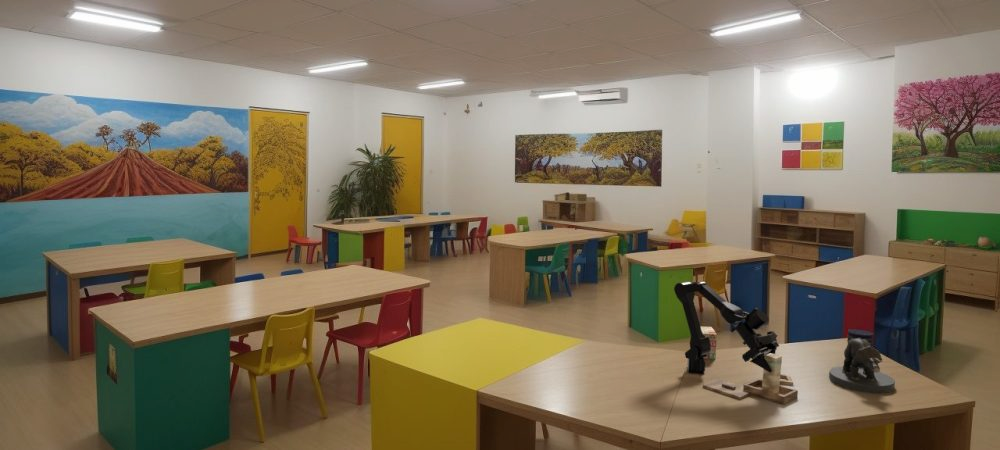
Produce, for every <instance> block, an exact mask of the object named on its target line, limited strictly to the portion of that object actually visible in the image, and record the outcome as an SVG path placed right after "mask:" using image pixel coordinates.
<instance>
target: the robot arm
mask: <svg viewBox="0 0 1000 450" xmlns="http://www.w3.org/2000/svg"><path fill="white" fill-rule="evenodd" d="M673 291H674V293H675V297H676V299H677V300H678V301H679V302H680V303H681V304H682V308H683V312H684V315H685V319H686V323H687V327H688V329H689V334H690V340H689V349H688V350H687V351H685V353H684V357H685V358H686V359H687V367H686V368H687V372H688V373H689V374H701V375H704V374H705V371H706V361H705V359H704V358H703V357H706V356H707V354H708V353H709V352H710V350H711V347H710V346H711V344H710V341H709V337H705V336H704V335H703V333H702V330H701V327H700V326H701V324H700V321H699V316H698V312H697V309H696V305H695V301H694V300H695V297H696V296H695V295H696V294H695V293H699V294H700V295H701V296H702V297H703V298H704V299H705V300H707V301H708V302H709V303H710V304H711V305H712V306H713V307H715V308H716V309H717V310H718V311H719V313H720V316H721V317H722V318H723V319H724V320H725V322H727V323H728V324H733V325H731V331H730V332H731V333H736V332H737V334H738V335H739V337H740V338H741V339H742V340H743V342H742V344H743V345H744V346H745V345H746V346H747V347H748V348H749V349H748V350H747V351H746V352H744V353H743V354H742V355H741V356H742V357H741V358H742V359H743V361H744V363H748V362H750V363H752V364H754V365H757V367H758V366H759V367H760V369H765V370H766V371H768V372H772V370H771V368H770V366H769V365H768V363H767V361H766V360H765V358H764V357H765V355H767V354H769V353H772V354H776V351H777V348H778V347H780V345H779V342H778V340H777V337H778V335H777V334H776V333H775V332H774V330H770V331H767V333H766V334H765V335H762V334H761V333H759V332H758V333H757V332H756V330H757V331H758V330H759V329H760V328H762V327H763V326H764V325H766V324H767V323H769V320H770V319H769V316H768V314H767V313H765V312H764V311H763V310H760V309H759V308H758V307H756V308H753V309H752V310H751V311H750V312H747V311H744V310H743V309H742V308H740V307H739V306H737V305H735V304H733V303H730V302H728V301H727V300H726V299H724V298H723V297H722V296H720V294H718V292H716V291H715V290H714V289H713V288H712V287H710V286H709V285H708V283H707V282H705V281H700V282H699V281H698V282H690V281H682V282H677V283H675V285H674V287H673Z"/></svg>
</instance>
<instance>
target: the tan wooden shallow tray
mask: <svg viewBox="0 0 1000 450" xmlns="http://www.w3.org/2000/svg"><path fill="white" fill-rule="evenodd" d="M762 382H763V379H762V378H756V379H753V380H751V381H748V382H746V383H744V384H743V386H742V387H743V390H747V391H750V392H751V395H750V396H755V397H758V398H761V399H764V400H767V401H770V402H774V403H777V404H780V405H783V406H784V405H786V404H788V403H791V402H793V401H794V400H796V399H798V392H799V391H798V389H796V388H795V389H794V388H791V387H788V386H784V385H782V384H780V385H779V394H775V393H772V392H769V391H766V390H763V389H762Z"/></svg>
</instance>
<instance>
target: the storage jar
mask: <svg viewBox="0 0 1000 450" xmlns="http://www.w3.org/2000/svg"><path fill="white" fill-rule="evenodd" d="M857 338H861V339H864V340H867V341H868V342H869V343H870V345H871V347H872V348H873V345H874V333H873V331H870V330H865V329H860V328H850V329H848V330H847V343H848V342H849V340H851V339H857ZM852 362H853V359H852ZM851 365H852V363H851ZM851 365H850V366H851ZM858 367H861V368H864V367H862V366H860V365H858Z"/></svg>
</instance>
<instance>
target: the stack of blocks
mask: <svg viewBox="0 0 1000 450" xmlns="http://www.w3.org/2000/svg"><path fill="white" fill-rule="evenodd" d="M700 327H701V330H702V333H703V335H704V336H705V337H709V341H710V344H711V346H710V347H711V350H710V352H709V353H708V354H707V356H706V357H703V358H704V360H716V358H717V357H716V356H717V338H718V337H717V335H718V333H716V331H715V329H714V328H713V327H712V326H701V325H700Z"/></svg>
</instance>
